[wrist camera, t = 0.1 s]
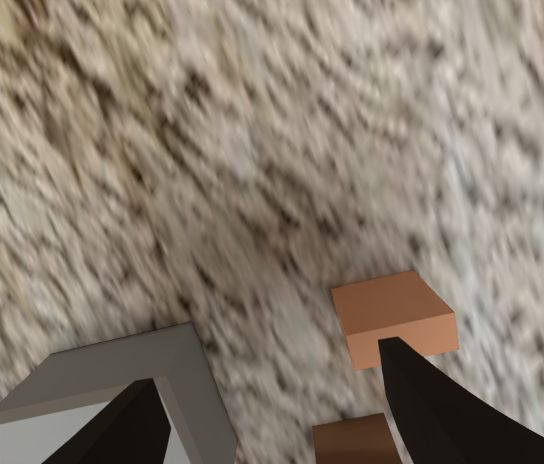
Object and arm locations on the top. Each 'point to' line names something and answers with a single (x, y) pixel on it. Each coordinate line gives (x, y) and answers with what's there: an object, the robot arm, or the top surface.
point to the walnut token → (355, 442)
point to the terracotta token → (393, 317)
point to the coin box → (108, 384)
